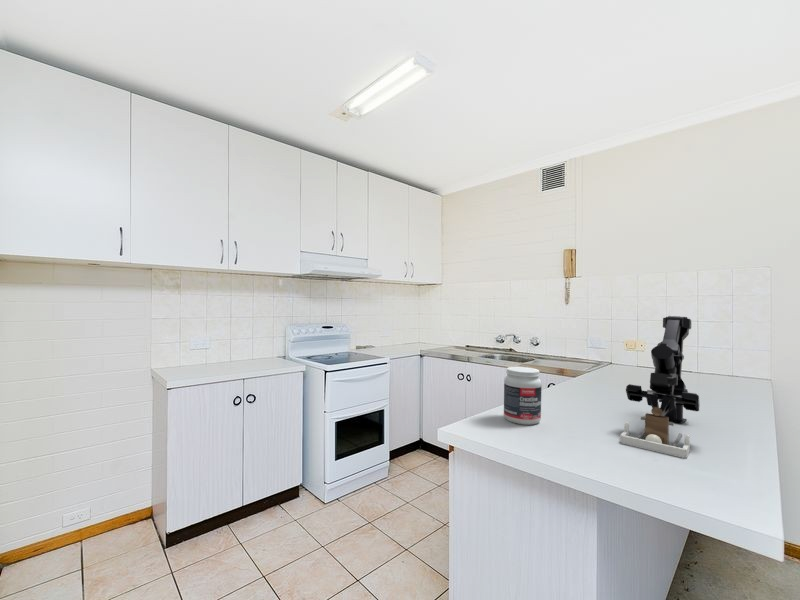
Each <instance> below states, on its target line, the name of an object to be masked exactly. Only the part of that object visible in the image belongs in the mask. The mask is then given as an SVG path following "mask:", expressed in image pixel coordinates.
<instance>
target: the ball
mask: <svg viewBox="0 0 800 600" xmlns="http://www.w3.org/2000/svg"><path fill="white" fill-rule="evenodd" d="M644 440H648V441H652V442H657V443H661V444H662V441H661V439H660V437H659V436H657V435H655V434H650V435H648V436H647V437H646V439H645V438H644Z"/></svg>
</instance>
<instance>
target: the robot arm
mask: <svg viewBox="0 0 800 600" xmlns="http://www.w3.org/2000/svg"><path fill="white" fill-rule="evenodd" d="M662 328H664V333H663V338H662V341H661V342H659V343H657V344H656V346H653V348H652V349H651V350H650V351H651V352H650V353H651V354H650V355H651V359H652V364H653V366H654V372H650V376H649V377H650V378H649V389H647V390H642V389H643V388H642V386H641V385H639V384H638V385H637V384H630V383H629V384H627V385H626V387H625V393H626V396H627V399H628V401H632V402H636V403H637V402H638V403H640V402H641V401H643V399H644V398H646V402H647V405H648V406H649V407H651V409H652V408H654V407H659V408H661V409H662V412H663V413H662V415H661V416H665V417H669V422H673V423H678V424H682V423H685V422H686V421H687V418H685V417H684V409H685V410H686V411H692V412H700V404H701V403H700V396H699V394H697V393H695V392H689V391H688V389H687V387H686V384H685V382H684V381H683V379H682V364H683V360H684V359H685V355H684V354H683V351H684V350H683V349H684V341H685V340H686V338H687V337H688V336H689V334H690V330H692V319H690V318H689V317H687V316H677V315H674V316H673V315H672V316H671V315H668V316H666V317H662ZM659 403H661V404H660V406H659Z"/></svg>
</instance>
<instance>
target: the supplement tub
mask: <svg viewBox="0 0 800 600" xmlns="http://www.w3.org/2000/svg"><path fill="white" fill-rule="evenodd" d="M540 373H541V372H540V370H539V369H537V368H533V367H527V366H509V367H507V368H506V374H507V375H506V376H505V377H504V381H503V382H504V384H503V418H504V419H506V420H507V421H508V422H511V423H514V424H517V425H522V426H523V425H524V426H527V425H536V424H538V423H540V421H541V420H542V419H541V418H542V384H543V383H542V380H541V379H540V378H539V377H540V376H541V375H540Z"/></svg>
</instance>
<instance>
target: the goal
mask: <svg viewBox="0 0 800 600" xmlns="http://www.w3.org/2000/svg"><path fill="white" fill-rule="evenodd" d="M623 425H624V428H623V431H622V433H620V436H619V437H620V438H619V440H620V441H619V442H620V444H623V445H627V446H631V447H637V448H639V449H643V450H644V449H645V450H648V451H653V452H657V453H661V454H665V455H670V456H675V457H677V458H678V457H679V458H682V459H687V458H688V456H689V453H690V449H691V447H690V443H691V438H690V437H691V436H690V435H689V434H686V433H685V434H684V443H683V446H682V447H680V446H677V447H675V446H673V445H671V444H670V445H669V444H668V445H666V444H661V443H657V442H652V441H648V440H645V439H643V438H641V439H639V438H637V437H633V436H630V432H629V431H630V430H629V428H630V423H629V422H628V421H627V422H625V421H624V424H623Z"/></svg>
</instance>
